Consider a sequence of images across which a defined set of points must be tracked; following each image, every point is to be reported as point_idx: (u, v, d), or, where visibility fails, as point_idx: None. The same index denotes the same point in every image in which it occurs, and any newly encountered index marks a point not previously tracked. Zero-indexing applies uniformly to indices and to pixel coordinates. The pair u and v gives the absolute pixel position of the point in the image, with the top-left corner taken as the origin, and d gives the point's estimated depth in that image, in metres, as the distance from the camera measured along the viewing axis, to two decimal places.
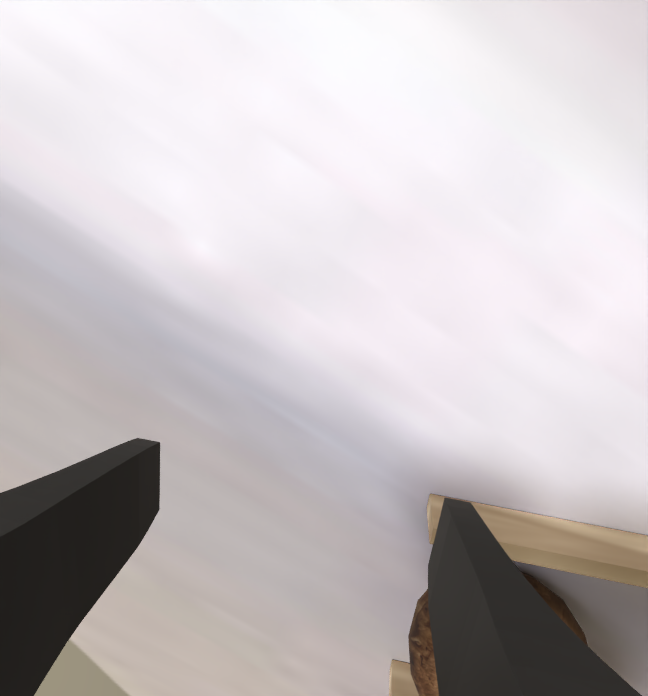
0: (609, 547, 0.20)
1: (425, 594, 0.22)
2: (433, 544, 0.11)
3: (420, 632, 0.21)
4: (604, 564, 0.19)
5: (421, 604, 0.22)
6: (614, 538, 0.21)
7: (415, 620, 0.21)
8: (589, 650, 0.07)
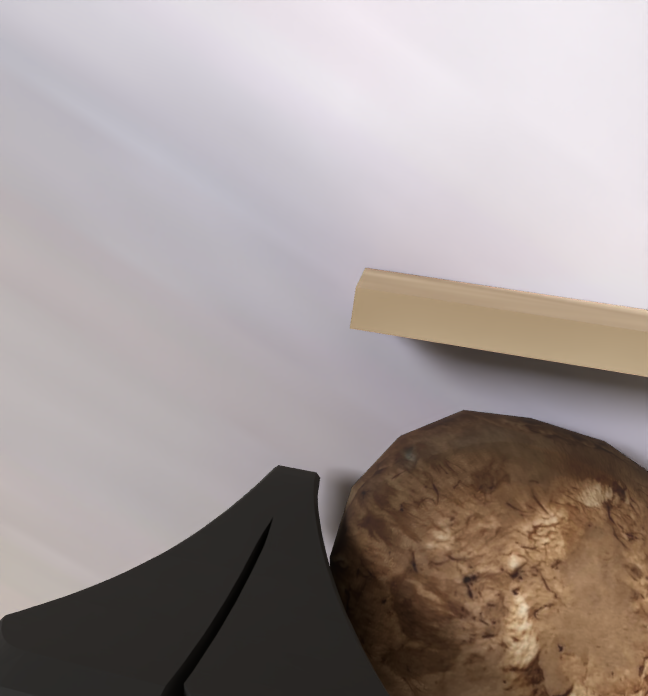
0: None
1: (367, 471, 0.10)
2: None
3: (348, 541, 0.09)
4: None
5: (356, 488, 0.10)
6: None
7: (342, 521, 0.10)
8: (337, 594, 0.07)
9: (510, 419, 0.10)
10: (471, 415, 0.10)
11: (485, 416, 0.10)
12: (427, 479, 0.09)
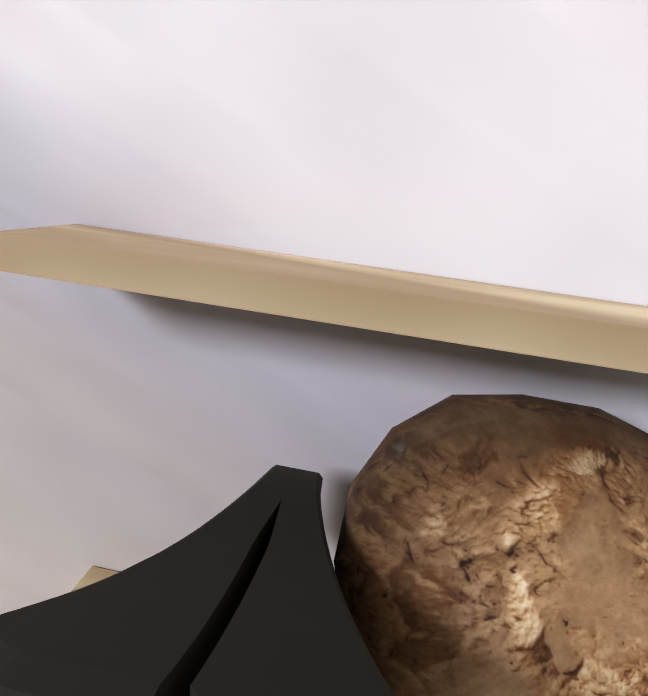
0: (374, 277, 0.10)
1: None
2: None
3: (347, 539, 0.09)
4: (338, 286, 0.09)
5: (351, 486, 0.10)
6: (399, 275, 0.10)
7: (342, 521, 0.10)
8: None
9: (498, 398, 0.10)
10: (457, 399, 0.10)
11: (472, 398, 0.10)
12: (416, 467, 0.09)
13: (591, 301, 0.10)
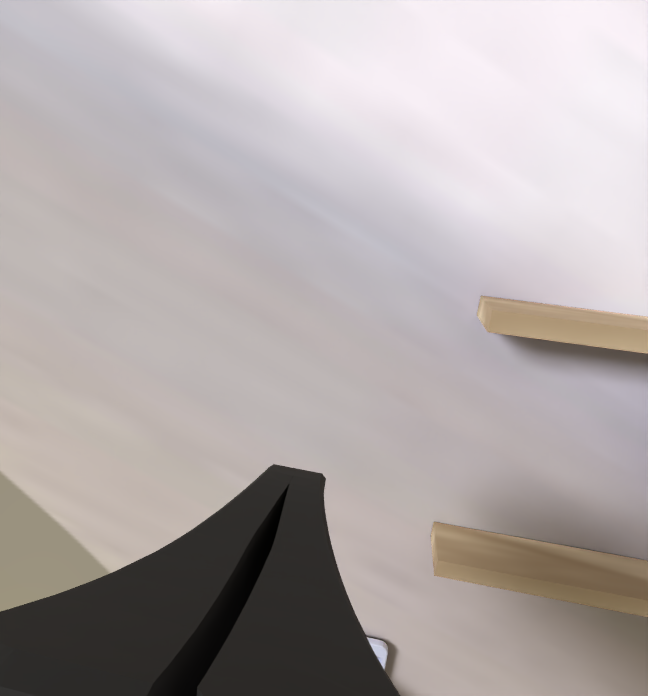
0: None
1: None
2: None
3: None
4: None
5: None
6: None
7: None
8: (347, 596, 0.07)
9: None
10: None
11: None
12: None
13: None
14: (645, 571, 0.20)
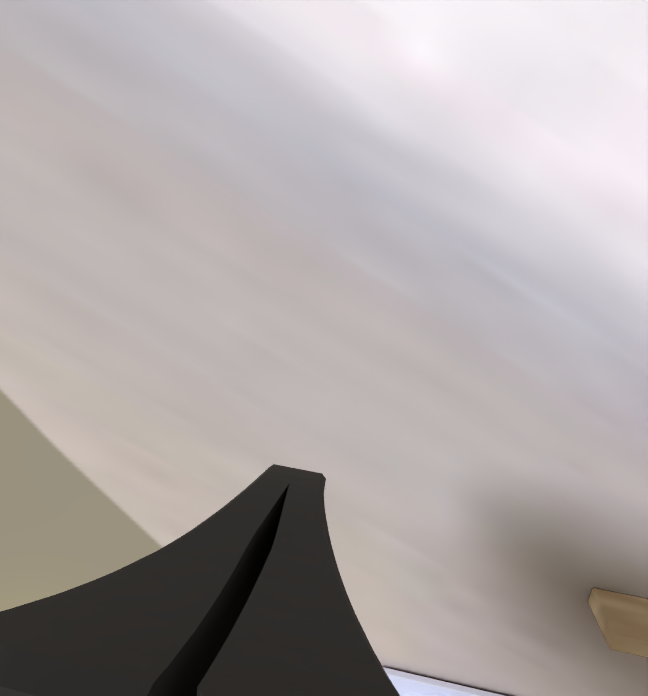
0: None
1: None
2: None
3: None
4: None
5: None
6: None
7: None
8: (347, 596, 0.07)
9: None
10: None
11: None
12: None
13: None
14: None
